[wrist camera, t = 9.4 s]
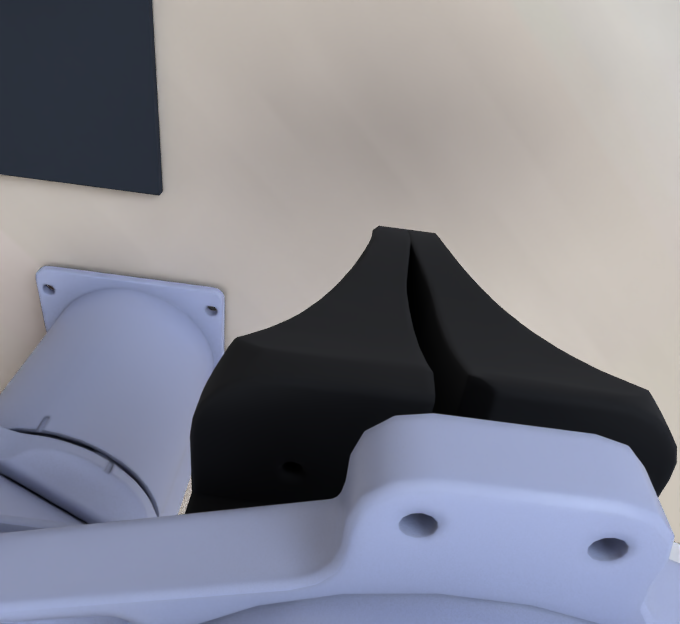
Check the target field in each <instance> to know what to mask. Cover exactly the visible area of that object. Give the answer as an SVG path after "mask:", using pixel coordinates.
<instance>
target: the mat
mask: <svg viewBox="0 0 680 624" xmlns="http://www.w3.org/2000/svg"><path fill="white" fill-rule="evenodd" d="M0 174H2V175H9V176H17V177H24V178H32V179H39V180H47V181H55V182H62V183H70V184H77V185H85V186H92V187H100V188H107V189H115V190H123V191H130V192H138V193H145V194H153V195H160V194H161V193H162V191H163V189H162V171H161V153H160V136H159V118H158V100H157V82H156V65H155V47H154V29H153V11H152V0H0Z"/></svg>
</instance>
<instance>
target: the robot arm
mask: <svg viewBox="0 0 680 624" xmlns="http://www.w3.org/2000/svg"><path fill="white" fill-rule="evenodd" d="M36 282H37V287H38V292H39V297H40V302H41V307H42V312H43V317H44V322H45V327H46V332H47V333H46V335H45V336H44V337H43V339H42V340H41V341H40V342H39V344H38V345H37V346H36V348H35V349H34V350H33V352H32V353H31V354H30V356H29V357H28V358H27V360H26V361H25V362H24V364H23V365H22V366H21V368H20V369H19V370H18V372H17V373H16V374H15V375H14V377H13V378H12V379H11V381H10V382H9V383H8V385H7V386H6V387H5V389H4V390H3V391H2V393H1V394H0V624H680V563H678V562H675V561H673V560H670V559H669V557H670V553H671V549H672V545H673V541H674V534H673V531H672V529H671V527H670V524H669V522H668V520H667V517H666V515H665V513H664V511H663V508H662V506H661V504H660V501H659V499H658V497H659V495H660V494H661V492H662V490H663V489H664V487H665V486H666V484H667V483H668V481H669V479H670V477H671V475H672V473H673V470H674V468H675V466H676V463H677V446H676V444H675V441H674V439H673V436H672V434H671V432H670V430H669V428H668V426H667V423H666V421H665V419H664V417H663V415H662V413H661V411H660V410H659V408H658V406H657V404H656V402H655V400H654V399H653V397H652V395H651V394H650V392H649V390H646V389H644V388H641V387H639V386H636V385H634V384H632V383H629V382H627V381H624V380H622V379H619V378H617V377H615V376H612V375H610V374H607V373H605V372H603V371H600V370H598V369H596V368H594V367H592V366H590V365H588V364H586V363H584V362H582V361H580V360H578V359H576V358H575V357H573V356H571V355H569V354H567V353H566V352H564V351H562V350H560V349H558V348H557V347H555V346H554V345H552V344H550V343H549V342H547V341H546V340H544V339H543V338H541V337H540V336H538V335H536V334H535V333H533V332H532V331H531V330H529V329H528V328H526V327H525V326H524V325H522V324H521V323H520V322H519V321H517V320H516V319H515V318H514V317H512V316H511V315H510V314H509V313H507V312H506V311H505V310H504V309H503V308H501V307H500V306H499V305H498V304H497V303H496V302H495V301H494V300H493V299H492V298H491V297H490V296H489V295H488V294H487V293H486V292H485V291H484V290H483V289H482V288H481V287H480V286H479V285H478V284H477V283H476V282H475V281H474V280H473V279H472V278H471V277H470V276H469V274H468V273H467V272H466V271H465V270H464V269H463V267H462V266H461V265H460V264H459V263H458V261H457V260H456V259H455V258H454V256H453V255H452V254H451V253H450V251H449V250H448V249H447V247H446V246H445V245H444V243H443V242H442V241H441V240H440V238H439V237H438V236H437V235H436V234H435V233H429V232H422V231H414V230H407V229H399V228H391V227H384V226H378V227H377V228H375V229H374V230H373V232H372V237H371V240H370V242H369V244H368V245H367V247H366V249H365V251H364V252H363V253H362V255H361V256H360V258H359V259H358V261H357V262H356V263H355V265H354V266H353V267H352V269H351V270H350V271H349V272H348V273H347V274H346V275H345V276H344V278H343V279H342V280H341V281H340V282H339V283H338V284H337V285H336V286H335V287H334V288H333V289H332V290H331V291H330V292H329V293H327V294H326V295H325V296H324V297H323V298H321V299H320V300H319V301H318V302H316V303H315V304H313V305H312V306H310V307H309V308H308V309H306V310H305V311H303V312H302V313H300V314H298V315H296V316H294V317H293V318H291V319H289V320H286V321H284V322H282V323H280V324H277V325H275V326H272V327H270V328H267V329H264V330H260V331H257V332H254V333H251V334H248V335H244V336H240V337H237V338H236V339H234V340H233V342H232V343H231V344H230V346H229V347H228V349H227V350H226V352H225V353H224V319H225V298H224V294H223V293H222V291H220V290H219V289H217V288H214V287H207V286H200V285H192V284H185V283H177V282H169V281H162V280H154V279H146V278H139V277H131V276H123V275H116V274H108V273H101V272H93V271H85V270H78V269H70V268H62V267H55V266H43V267H41V268H40V269H39V270H38V272H37V273H36ZM47 285H50V286H52V287H53V288H54V290H52V289H50V288H49V287H48V286H47ZM208 306H213V307H215V308H216V309H217V311H212V310H210V309H209V308H208ZM190 477H191V479H192V494H191V497H190V500H189V503H188V506H187V509H186V512H185V514H181V515H178V512H179V509H180V506H181V503H182V500H183V498H184V495H185V492H186V489H187V486H188V483H189V480H190Z"/></svg>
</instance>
